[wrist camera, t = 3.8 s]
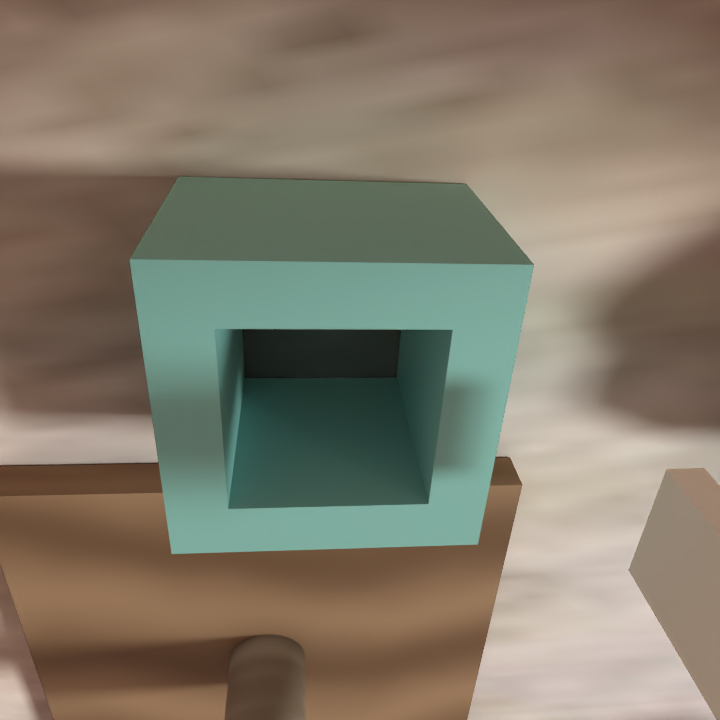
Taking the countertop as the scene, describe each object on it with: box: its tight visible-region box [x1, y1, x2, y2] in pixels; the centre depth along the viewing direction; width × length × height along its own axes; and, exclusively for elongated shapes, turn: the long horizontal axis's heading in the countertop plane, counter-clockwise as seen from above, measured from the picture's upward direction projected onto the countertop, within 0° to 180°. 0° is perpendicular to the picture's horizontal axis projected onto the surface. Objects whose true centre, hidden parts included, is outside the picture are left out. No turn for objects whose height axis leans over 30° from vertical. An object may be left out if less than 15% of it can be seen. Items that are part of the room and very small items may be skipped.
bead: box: [129, 176, 534, 554], centre depth 17 cm, size 8×8×6 cm
